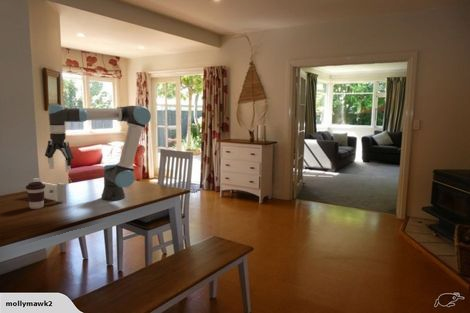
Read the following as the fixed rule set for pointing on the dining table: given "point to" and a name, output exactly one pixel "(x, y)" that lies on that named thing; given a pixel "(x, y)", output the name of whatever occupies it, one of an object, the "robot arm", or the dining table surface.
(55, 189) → the door
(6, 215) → the dining table surface
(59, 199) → the wall frame
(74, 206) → the dining table surface
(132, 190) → the dining table surface
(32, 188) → the coffee cup
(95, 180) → the dining table surface
